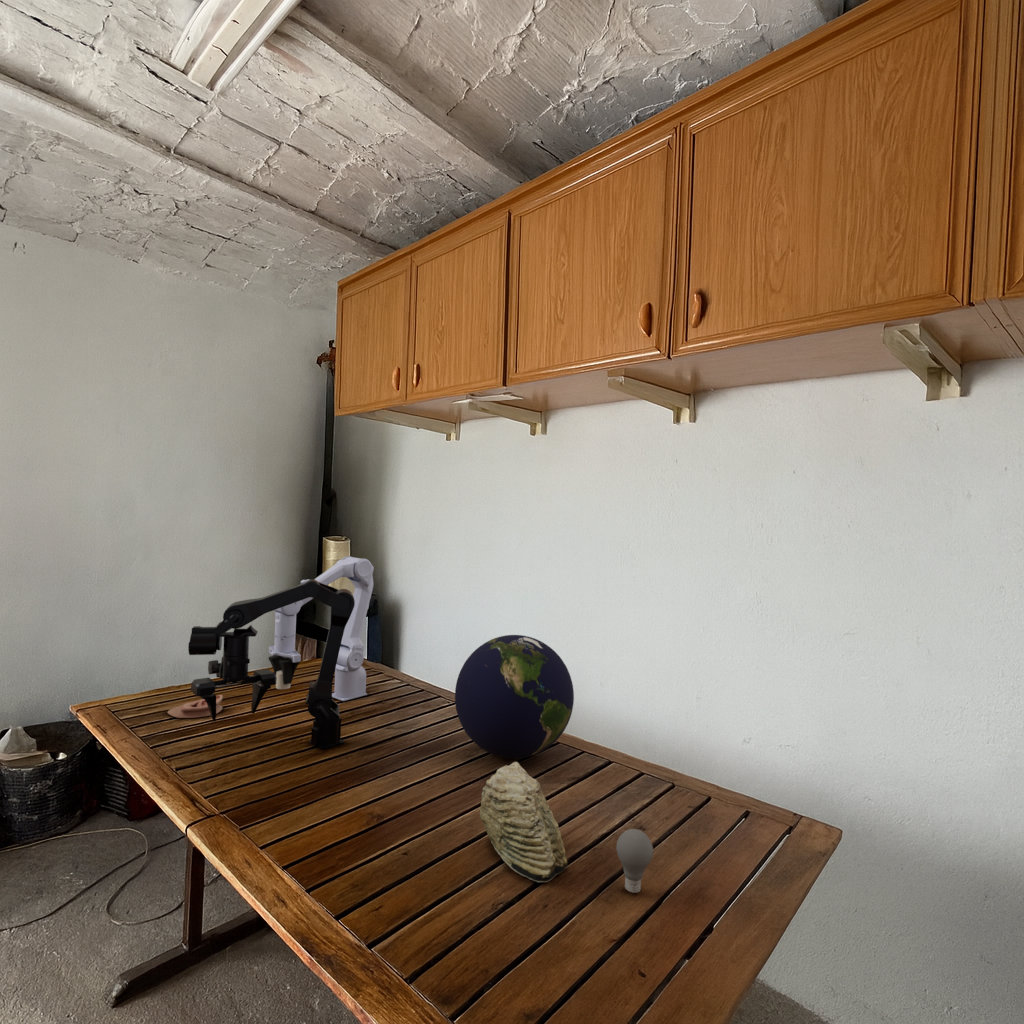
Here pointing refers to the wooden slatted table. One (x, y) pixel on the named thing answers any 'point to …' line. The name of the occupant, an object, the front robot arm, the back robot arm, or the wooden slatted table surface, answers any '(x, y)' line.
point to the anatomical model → (195, 709)
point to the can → (281, 681)
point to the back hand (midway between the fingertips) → (283, 681)
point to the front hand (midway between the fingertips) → (233, 716)
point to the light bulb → (634, 857)
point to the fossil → (522, 824)
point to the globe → (514, 696)
